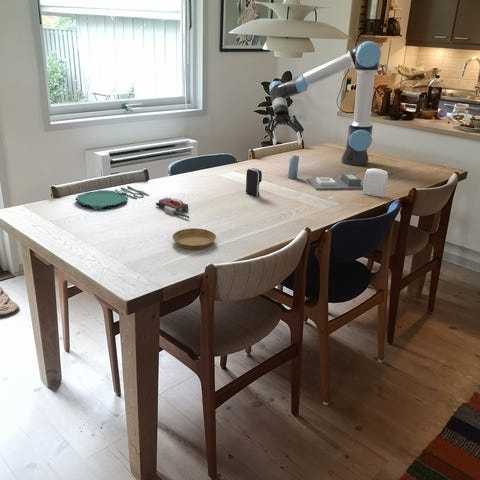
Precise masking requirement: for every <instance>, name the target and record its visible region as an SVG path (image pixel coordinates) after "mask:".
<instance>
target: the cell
mask: <svg viewBox="0 0 480 480" xmlns="http://www.w3.org/2000/svg"><path fill="white" fill-rule="evenodd" d="M299 162H300V156H299V155H297V154H291V155H290V156H289V164H288V165H289V166H288V177H287V178H288V179H290V180H297V178H298V169H299Z"/></svg>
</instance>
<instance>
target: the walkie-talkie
mask: <svg viewBox="0 0 480 480" xmlns="http://www.w3.org/2000/svg"><path fill="white" fill-rule="evenodd" d="M155 205H156V206H157V207H158V208H159V209H162V210H165V213H167V214H169V215H172V216H174V215H178V216H180V217H182V218H186V219H190V215H187V214H184V212H188V211H189V204H188V203H185V202H183V200H181V199H178V198H172V197H164V198H162V199H159V200H158V202H155Z"/></svg>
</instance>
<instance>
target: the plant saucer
mask: <svg viewBox="0 0 480 480" xmlns="http://www.w3.org/2000/svg"><path fill="white" fill-rule="evenodd" d="M216 238H217V235H216V233H214V232H213V231H210V230H207V229H206V228H205V229H204V228H196V227H195V228H193V227H192V228H191V227H190V228H185V229H181V230H178V231H176V232H174V233H173V234H172V240H173V241H174V243H176V244H177V245H178V246H179V247H181V248H183V249H187V250H188V249H189V250H202V249H203V250H204V249H206V248H208V247H209V246H210V245H212V244H213V243H214V242H215V241H216Z"/></svg>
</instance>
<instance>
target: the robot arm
mask: <svg viewBox="0 0 480 480" xmlns="http://www.w3.org/2000/svg"><path fill="white" fill-rule="evenodd" d="M381 57H382V51H381V47H380V46H379V44H378V43H376V42H375V41H372V40H364V41H362V42H361V43H359V44H357V45H356V46H355V47H353V48H350V49H349V50H348V51H347V53H345V54H343V55H341V56H339V57H337V58H334V59H333V60H330V61H328V62H326V63H324V64H322V65H320V66H317V67H315V68H313V69H311V70H309V71H306V72H305V73H303V74H301V75H298V76H295V77H293V78H292V79H291V80H290V81H287V82H285V83H283V82H282V81H281V80H277V81H276V80H274V81H273V82H271V83H270V84H269V85H268V88H269V94H270V100H271V104H272V109H273V115H272V114H271V115H270V116H269V118H268V124H267V127H266V130H265V133H267V134H268V135H269V136H270V137H269V138H270V140H272V145H273V146H276V144H277V138H276V134H275V131H274V130H276V128H277V126H279V125H280V126H282V125H284V126H288V127H290V128H291V129H292V130H293V131H294V132H296V134H295V135H296V139H297V144H298V146H300V145H301V144H302V137H303V135H302V133H304V130H305V128H304V127H303V125H302V124H301V123H300V122H299V120H298V119H297V117H296V115H295V114H294V115H292V116H291V115H290V112H289V108H288V102H287V98H290V97H294V96H297V95H300V94H303V93H305V92H308V88H310V87H312V86H313V85H316V84H318V83H320V82H323V81H325V80H328V79H329V78H331V77H334V76H336V75H338V74H341V73H343V72H344V71H348V70H350V69H351V68H354V71H355V72H356V74H357V76H356V86H355V98H354V99H355V100H354V110H353V120H352V121H350V122H349V124H348V131H347V132H348V133H347V138H346V145H345V146H346V147H345V149H344V151H343V153H342V156H341V159H340V162H341V163H342V164H345V165H349V166H356V167H357V166H358V167H360V166H361V167H363V166H367V165H368V164H369V156H368V149H369V148H370V146H371V145H372V142H373V137H372V134H373V123H372V122H371V115H372V107H373V106H372V105H373V96H374V86H375V75H376V73H377V72H378V71H379V68H380V67H379V66H380V65H379V64H380V60H381ZM273 121H275V123H274V125H273V126H272V127H271V125H272V123H273Z"/></svg>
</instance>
